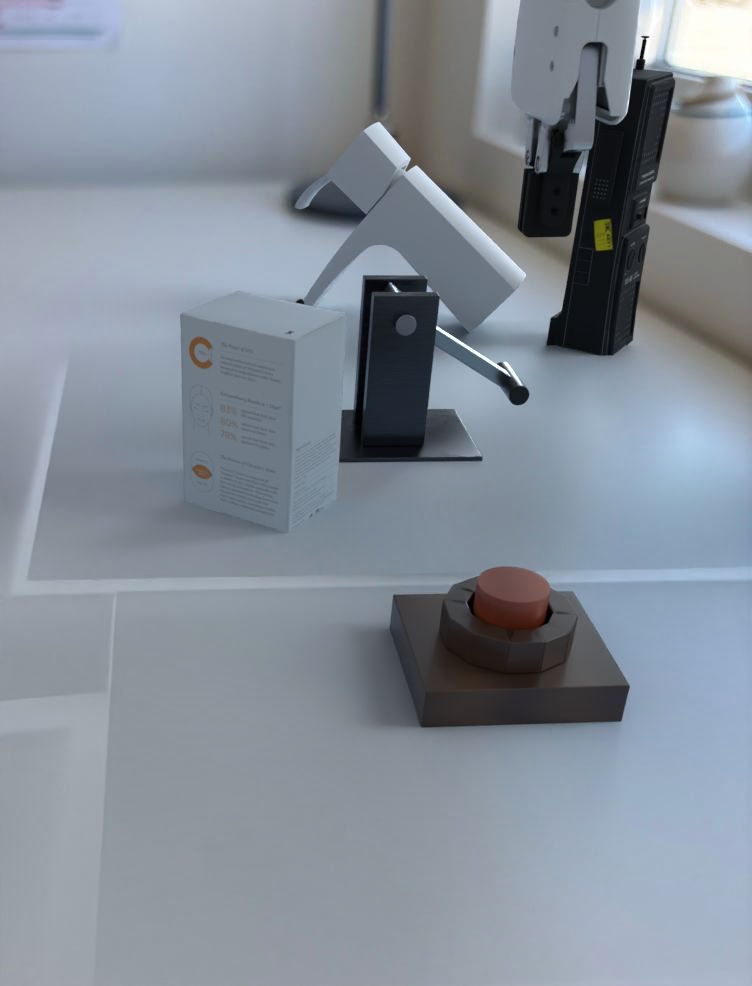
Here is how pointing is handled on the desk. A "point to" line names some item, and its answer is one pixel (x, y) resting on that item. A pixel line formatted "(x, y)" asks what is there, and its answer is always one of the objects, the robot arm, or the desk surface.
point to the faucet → (414, 230)
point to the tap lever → (480, 363)
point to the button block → (504, 664)
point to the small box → (262, 407)
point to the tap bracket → (399, 381)
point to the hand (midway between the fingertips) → (543, 233)
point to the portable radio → (614, 221)
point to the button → (511, 598)
